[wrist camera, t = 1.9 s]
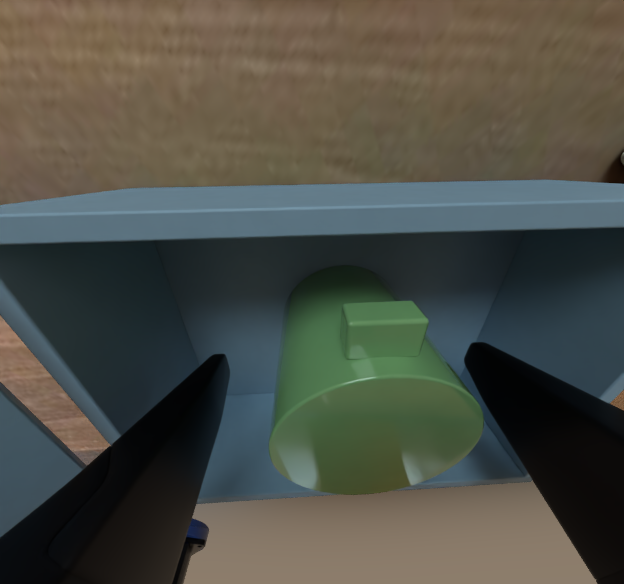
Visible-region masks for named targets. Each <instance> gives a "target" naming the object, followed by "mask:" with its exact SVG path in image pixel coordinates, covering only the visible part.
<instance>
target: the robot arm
mask: <svg viewBox="0 0 624 584" xmlns="http://www.w3.org/2000/svg"><path fill="white" fill-rule="evenodd" d="M464 364H465V366H466V368H467V370H468V372H469V374H470V376H471V378H472V380H473V382H474V384H475V386H476V388H477V390H478V392H479V394H480V396H481V398H482V400H483V401H484V403H485V405H486V407H487V408H488V410H489V412H490V413H491V415H492V416H493V418H494V420H495V421H496V423H497V424H498V426H499V428H500V429H501V431H502V432H503V434H504V435H505V437H506V439H507V440H508V442H509V443H510V445H511V447H512V448H513V450H514V451H515V453H516V455H517V456H518V458H519V459H520V461H521V463H522V464H523V466H524V467H525V469H526V470H527V472H528V474H529V475H530V477H531V478H532V480H533V482H534V483H535V485H536V486H537V488H538V489H539V491H540V493H541V494H542V496H543V497H544V499H545V501H546V502H547V504H548V505H549V507H550V508H551V510H552V512H553V513H554V515H555V516H556V518H557V520H558V521H559V523H560V524H561V526H562V527H563V529H564V531H565V532H566V534H567V536H568V537H569V539H570V540H571V542H572V544H573V545H574V547H575V548H576V550H577V551H578V553H579V555H580V556H581V558H582V559H583V561H584V562H585V564H586V566H587V567H588V569H589V571H590V572H591V574H592V575H593V577H594V578H595V579H596V582H597V584H624V411H623V410H621V409H619V408H617V407H615V406H613V405H611V404H609V403H607V402H605V401H603V400H601V399H599V398H597V397H595V396H593V395H591V394H589V393H587V392H585V391H583V390H581V389H579V388H577V387H575V386H573V385H571V384H568V383H566V382H564V381H562V380H560V379H558V378H556V377H554V376H552V375H550V374H548V373H546V372H544V371H542V370H540V369H538V368H536V367H534V366H532V365H530V364H528V363H526V362H524V361H522V360H520V359H518V358H516V357H514V356H512V355H510V354H508V353H506V352H504V351H502V350H500V349H498V348H495V347H493V346H491V345H489V344H487V343H485V342H473V343H471V344H470V345H469V348H468V350H467V352H466V354H465V357H464ZM229 379H230V368H229V364H228V361H227V357H226V355H225V354H213V355H211V356H210V357H209V358H208V359H207V360H206V361H205V362H204V363H202V364H201V365H200V366H199V367H198V368H197V369H196V370H195V371H193V372H192V373H191V374H190V375H189V376H188V377H187V378H186V379H184V380H183V381H182V382H181V383H180V384H179V385H178V386H177V387H175V388H174V389H173V390H172V391H171V392H170V393H169V394H168V395H166V396H165V397H164V398H163V399H162V400H161V401H160V402H159V403H157V404H156V405H155V406H154V407H153V408H152V409H151V410H150V411H149V412H147V413H146V414H145V415H144V416H143V417H142V418H141V419H140V420H138V421H137V422H136V423H135V424H134V425H133V426H132V427H131V428H129V429H128V430H127V431H126V432H125V433H124V434H123V435H122V436H120V437H119V438H118V439H117V440H116V441H115V442H114V443H113V444H112V446H109V447H108V448H107V449H106V450H105V451H103V452H102V453H101V454H100V455H99V456H98V457H97V458H96V459H94V460H93V461H92V462H91V463H90V464H89V465H88V466H86V467H85V468H84V469H83V470H82V471H81V472H79V473H78V474H77V475H76V476H75V477H74V478H73V479H71V480H70V481H69V482H68V483H67V484H65V485H64V486H63V487H62V488H61V489H59V490H58V491H57V492H56V493H55V494H53V495H52V496H51V497H50V498H48V499H47V500H46V501H45V502H44V503H42V504H41V505H40V506H39V507H37V508H36V509H35V510H34V511H33V512H31V513H30V514H29V515H28V516H26V517H25V518H24V519H23V520H21V521H20V522H19V523H18V524H16V525H15V526H14V527H13V528H11V529H10V530H9V531H8V532H6V533H5V534H4V535H3V536H1V537H0V584H183V583H184V579H185V575H186V572H187V568H188V565H189V561H190V558H191V556H192V555H193V554H195V553H196V552H198V551H199V550H201V549H202V548H203V547H205V543H206V540H204V539H197V538H191V537H186V536H187V532H188V529H189V526H190V522H191V519H192V516H193V513H194V509H195V506H196V503H197V499H198V496H199V493H200V489H201V486H202V483H203V480H204V476H205V473H206V470H207V466H208V463H209V460H210V456H211V453H212V450H213V447H214V443H215V440H216V437H217V433H218V430H219V427H220V423H221V420H222V415H223V410H224V405H225V400H226V394H227V389H228V384H229Z"/></svg>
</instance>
